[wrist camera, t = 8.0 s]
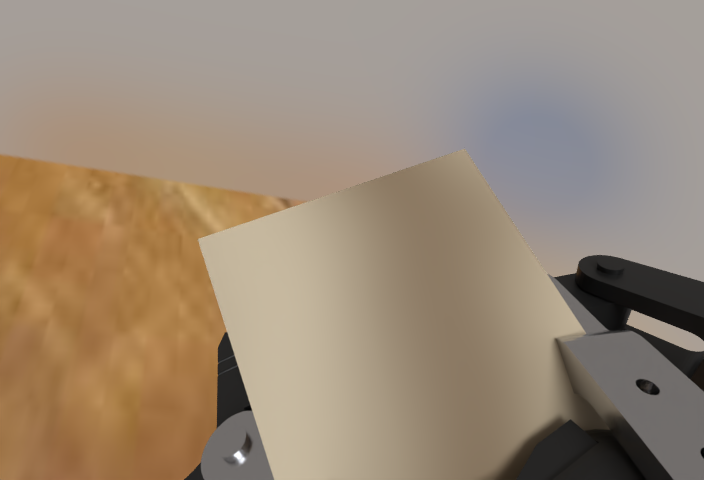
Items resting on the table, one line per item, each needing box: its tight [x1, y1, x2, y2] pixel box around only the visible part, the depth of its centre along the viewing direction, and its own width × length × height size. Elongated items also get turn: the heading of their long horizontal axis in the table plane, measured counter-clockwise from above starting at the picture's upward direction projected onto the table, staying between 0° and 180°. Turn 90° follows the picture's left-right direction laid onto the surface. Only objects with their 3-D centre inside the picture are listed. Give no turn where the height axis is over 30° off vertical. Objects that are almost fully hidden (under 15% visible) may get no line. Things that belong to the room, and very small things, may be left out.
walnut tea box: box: [198, 149, 610, 480], centre depth 9 cm, size 6×6×10 cm
